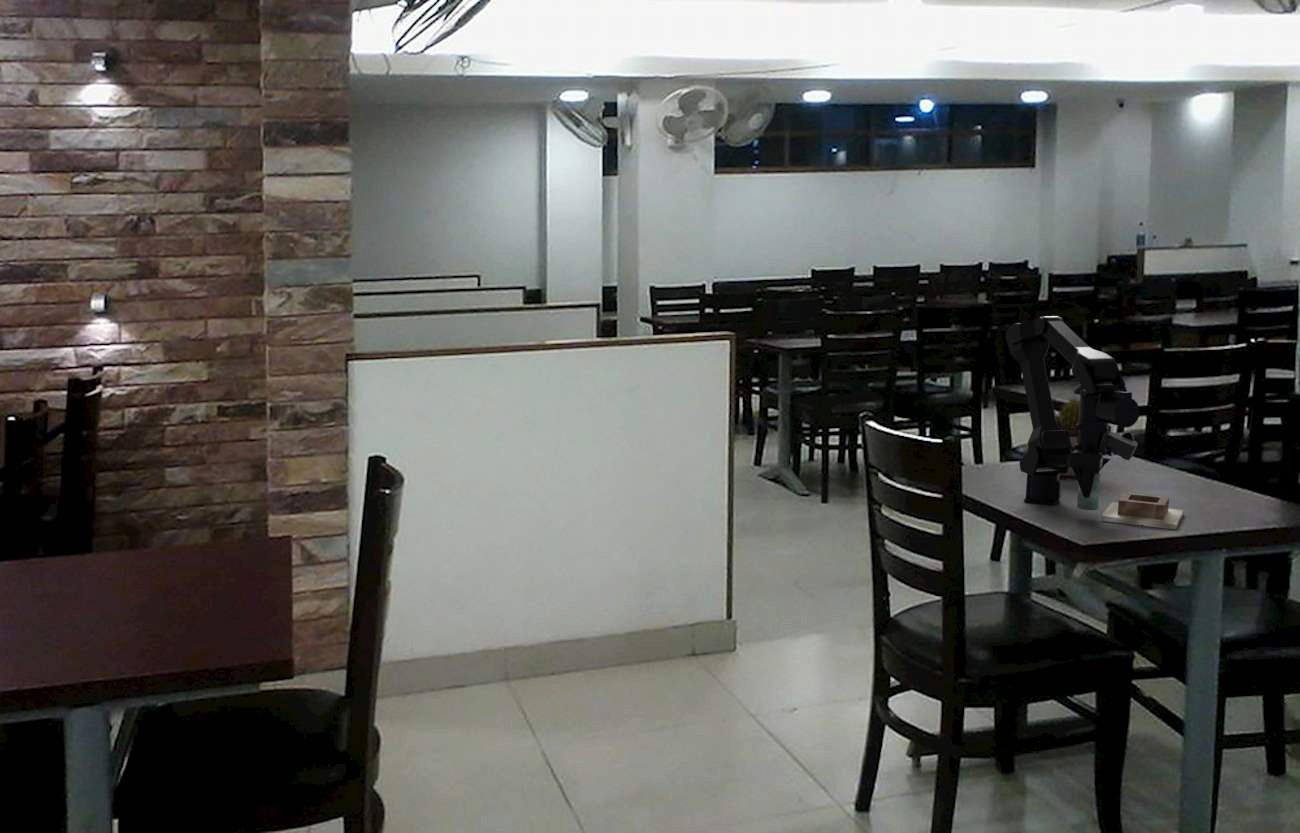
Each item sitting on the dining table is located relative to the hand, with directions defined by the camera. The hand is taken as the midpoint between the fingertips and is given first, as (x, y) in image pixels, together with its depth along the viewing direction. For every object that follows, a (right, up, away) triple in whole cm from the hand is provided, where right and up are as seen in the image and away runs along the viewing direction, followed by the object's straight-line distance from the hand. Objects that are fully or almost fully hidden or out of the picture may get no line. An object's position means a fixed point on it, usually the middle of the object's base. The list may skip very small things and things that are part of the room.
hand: (1088, 495), depth 259 cm
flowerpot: (+8, +2, +42) cm, 43 cm away
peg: (0, -3, 0) cm, 3 cm away
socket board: (+12, -5, +1) cm, 13 cm away
